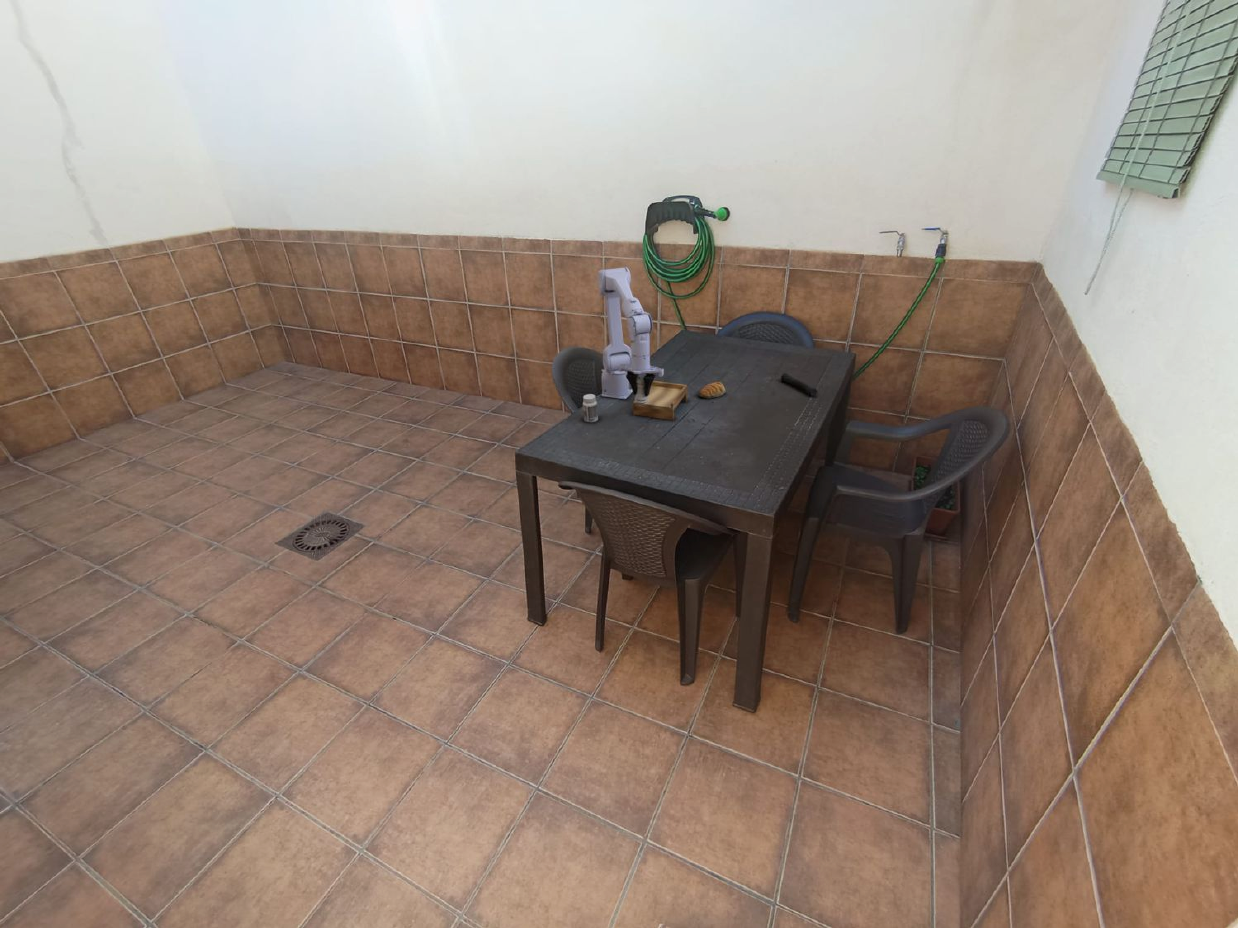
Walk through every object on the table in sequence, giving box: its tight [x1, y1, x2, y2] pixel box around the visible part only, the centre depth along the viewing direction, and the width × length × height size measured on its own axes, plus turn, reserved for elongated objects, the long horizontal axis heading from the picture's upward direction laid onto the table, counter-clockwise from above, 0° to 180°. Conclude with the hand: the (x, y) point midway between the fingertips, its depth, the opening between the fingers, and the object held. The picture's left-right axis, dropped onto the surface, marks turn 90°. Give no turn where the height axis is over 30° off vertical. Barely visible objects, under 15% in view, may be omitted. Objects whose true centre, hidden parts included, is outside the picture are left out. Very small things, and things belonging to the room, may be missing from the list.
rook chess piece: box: [634, 376, 648, 404], centre depth 179 cm, size 4×4×8 cm
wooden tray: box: [632, 380, 688, 421], centre depth 191 cm, size 14×16×6 cm
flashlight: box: [780, 372, 818, 397], centre depth 201 cm, size 3×16×3 cm, turn 23°
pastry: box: [699, 381, 726, 399], centre depth 199 cm, size 9×7×4 cm
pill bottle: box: [582, 393, 599, 423], centre depth 185 cm, size 5×5×8 cm
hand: (641, 394), depth 180 cm, fingers closed on rook chess piece, 3 cm apart
